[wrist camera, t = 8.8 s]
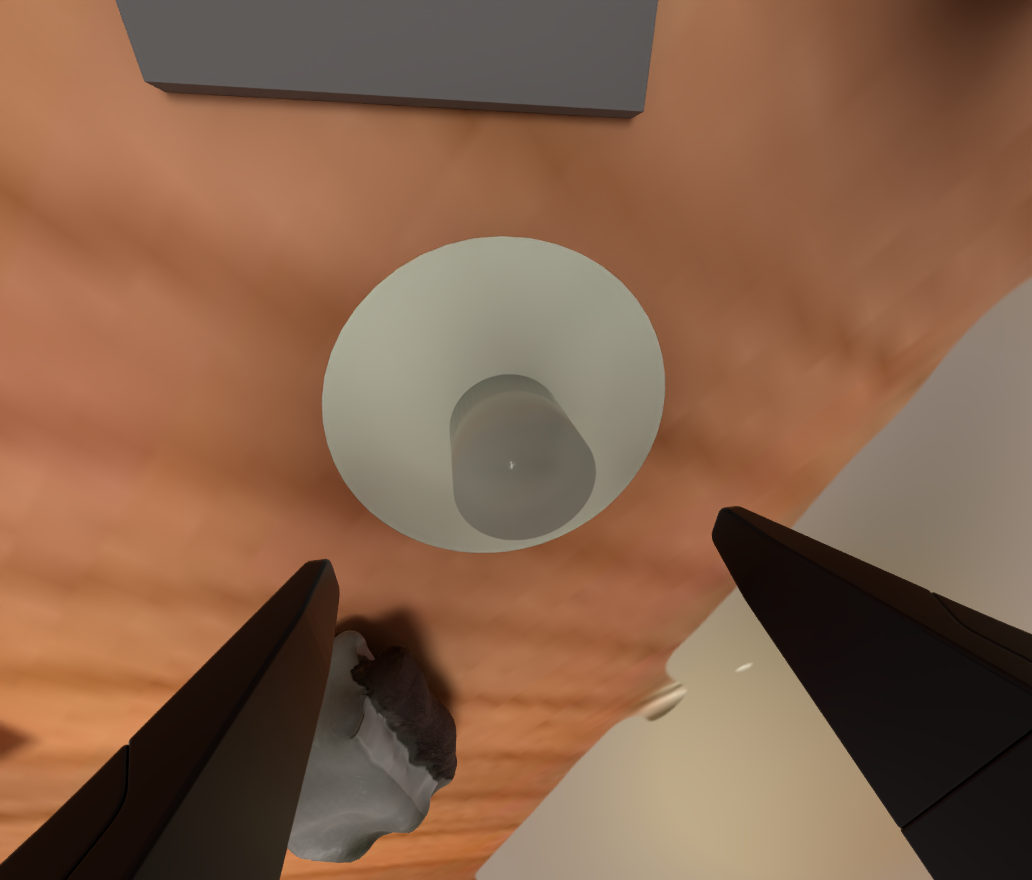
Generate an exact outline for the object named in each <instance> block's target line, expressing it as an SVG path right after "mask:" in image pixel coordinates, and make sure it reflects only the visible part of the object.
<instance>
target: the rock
mask: <svg viewBox="0 0 1032 880" xmlns="http://www.w3.org/2000/svg"><path fill="white" fill-rule="evenodd" d="M455 753H456V727H455V723H454V720H453V718H452V716H451V714H450V713H449V711H448V710H447V709H446V708H445V707H444V706H443V705H442V704H441V703H440V702H439V701H438V700H437V698H436V697H435V696H434V695H433V694H432V692H431V691H430V690H429V688H428V686H427V680H426V677H425V675H424V673H423V671H422V670H421V668H420V666H419V665H418V663H417V662H416V660H415V659H414V658H413V657H412V655H411V653H410V652H409V651H408V650H407V649H406V648H404V647H402V646H394V647H391V648H389V649H388V650H386V651H385V652H384V653H383V654H382V655H380V656H379V657H378V658H377V659H375V658H374V656H373V655H372V653H371V652H370V651H369V649H368V647H367V644H366V641H365V639H364V638H363V636H362V635H361V634H360V633H358V632H356V631H351V630H349V631H344V632H342V633H340V634H339V635H338V636H336V637H335V638H334V642H333V650H332V658H331V665H330V672H329V676H328V681H327V686H326V690H325V694H324V698H323V702H322V706H321V710H320V715H319V719H318V723H317V727H316V731H315V735H314V739H313V743H312V748H311V752H310V756H309V760H308V764H307V768H306V772H305V777H304V781H303V785H302V789H301V793H300V797H299V801H298V805H297V810H296V814H295V818H294V822H293V826H292V830H291V834H290V838H289V843H288V847H287V848H288V849H289V850H290V851H291V852H292V853H293V854H294V855H296V856H297V857H299V858H302V859H308V860H312V861H323V862H336V863H342V862H353V861H355V860H358V859H360V858H361V857H362V856H363V855H364V854H365V853H366V852H367V851H368V850H369V849H370V847H371V846H372V845H373V843H374V842H375V841H376V840H377V839H378V838H379V837H381V836H383V835H386V834H389V833H392V832H398V833H410V832H412V831H414V830H415V829H416V828H417V827H418V826H419V825H420V824H421V822H422V821H423V820H424V818H425V817H426V815H427V813H428V811H429V806H430V798H431V797H432V796H433V794H434V793H435V792H436V791H438V790H439V789H440V788H442V787H444V786H446V785H447V784H449V783H450V782H451V781H452V779H453V778H454V775H455V770H456V766H457V758H456V754H455Z"/></svg>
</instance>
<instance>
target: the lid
mask: <svg viewBox="0 0 1032 880" xmlns="http://www.w3.org/2000/svg"><path fill="white" fill-rule="evenodd" d="M664 398H665V372H664V364H663V357H662V353H661V349H660V346H659V342H658V339H657V336H656V333H655V331H654V329H653V327H652V324H651V322H650V320H649V318H648V316H647V314H646V313H645V311H644V310H643V308H642V307H641V305H640V304H639V302H638V300H637V299H636V298H635V297H634V295H633V294H632V293H631V292H630V291H629V290H628V289H627V288H626V286H625V285H624V284H623V283H622V282H621V281H620V280H619V279H617V278H616V277H615V276H614V275H613V274H611V273H610V272H609V271H608V270H606V269H605V268H604V267H603V266H601V265H600V264H598V263H596V262H594V261H593V260H591V259H589V258H588V257H586V256H584V255H582V254H581V253H578V252H575V251H573V250H570V249H568V248H565V247H563V246H560V245H558V244H554V243H549V242H545V241H540V240H536V239H532V238H521V237H507V236H491V237H478V238H470V239H466V240H462V241H457V242H453V243H449V244H445V245H443V246H440V247H438V248H435V249H433V250H430V251H428V252H425V253H423V254H421V255H419V256H417V257H416V258H414V259H412V260H411V261H409V262H407V263H405V264H404V265H402V266H400V267H399V268H398V269H396V270H395V271H394V272H393V273H391V274H390V275H389V276H388V277H386V278H385V279H384V280H383V281H381V282H380V283H379V284H378V285H377V286H376V287H375V288H374V289H373V290H372V291H371V292H370V293H369V294H368V295H367V297H366V298H365V299H364V300H363V301H362V302H361V303H360V304H359V305H358V306H357V308H356V309H355V310H354V312H353V313H352V315H351V317H350V318H349V320H348V321H347V323H346V324H345V326H344V327H343V329H342V330H341V332H340V335H339V337H338V339H337V341H336V343H335V346H334V348H333V350H332V352H331V355H330V359H329V362H328V366H327V369H326V373H325V377H324V386H323V394H322V414H323V425H324V430H325V435H326V440H327V445H328V447H329V450H330V453H331V455H332V458H333V461H334V464H335V465H336V467H337V469H338V471H339V473H340V475H341V476H342V478H343V480H344V482H345V483H346V485H347V486H348V487H349V489H350V490H351V491H352V493H353V494H354V495H355V497H356V498H357V499H358V500H359V501H360V502H361V503H362V504H363V505H364V506H365V507H366V508H367V509H368V510H369V511H370V512H371V513H372V514H374V515H375V516H376V517H377V518H379V519H380V520H381V521H382V522H384V523H385V524H387V525H388V526H390V527H392V528H393V529H395V530H397V531H398V532H400V533H402V534H404V535H406V536H408V537H410V538H413V539H415V540H417V541H419V542H422V543H425V544H429V545H432V546H435V547H439V548H443V549H448V550H453V551H461V552H470V553H495V552H506V551H513V550H518V549H523V548H528V547H531V546H535V545H538V544H542V543H545V542H547V541H550V540H552V539H555V538H558V537H560V536H562V535H564V534H566V533H568V532H570V531H572V530H574V529H576V528H578V527H579V526H581V525H582V524H584V523H586V522H587V521H589V520H590V519H592V518H593V517H594V516H596V515H597V514H598V513H600V512H601V511H602V510H604V509H605V508H606V507H607V506H608V505H609V504H610V503H611V502H612V501H614V500H615V499H616V498H617V497H618V496H619V495H620V494H621V492H622V491H623V490H624V489H625V488H626V487H627V486H628V484H629V483H630V482H631V481H632V479H633V478H634V476H635V475H636V474H637V472H638V471H639V469H640V468H641V466H642V464H643V463H644V461H645V459H646V457H647V455H648V453H649V452H650V450H651V447H652V445H653V442H654V440H655V437H656V435H657V432H658V428H659V425H660V421H661V417H662V413H663V406H664Z"/></svg>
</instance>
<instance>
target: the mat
mask: <svg viewBox="0 0 1032 880" xmlns="http://www.w3.org/2000/svg"><path fill="white" fill-rule="evenodd" d="M116 3H117V6H118V8H119V11H120V14H121V17H122V20H123V22H124V25H125V28H126V31H127V34H128V37H129V39H130V42H131V45H132V48H133V51H134V53H135V56H136V59H137V62H138V65H139V68H140V70H141V73H142V76H143V79H144V81H145V82H147V83H149V84H151V85H153V86H155V87H157V88H159V89H161V90H162V91H164V92H177V93H194V94H212V95H230V96H247V97H265V98H282V99H300V100H318V101H335V102H353V103H370V104H388V105H406V106H423V107H441V108H459V109H476V110H494V111H511V112H529V113H547V114H564V115H582V116H599V117H617V118H633V117H635V116H636V115H638V114H640V113H642V112H643V111H644V104H645V96H646V89H647V81H648V73H649V66H650V58H651V50H652V43H653V35H654V27H655V20H656V12H657V4H658V0H116Z"/></svg>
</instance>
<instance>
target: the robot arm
mask: <svg viewBox="0 0 1032 880" xmlns="http://www.w3.org/2000/svg"><path fill="white" fill-rule="evenodd" d="M712 540H713V543H714V545H715V546H716V548H717V550H718V552H719V554H720V556H721V557H722V559H723V561H724V563H725V565H726V566H727V568H728V570H729V572H730V574H731V576H732V577H733V579H734V581H735V583H736V585H737V586H738V588H739V590H740V592H741V593H742V595H743V597H744V598H745V600H746V602H747V603H748V605H749V606H750V608H751V610H752V611H753V612H754V614H755V615H756V617H757V618H758V620H759V621H760V623H761V624H762V626H763V627H764V629H765V630H766V632H767V633H768V635H769V636H770V638H771V639H772V641H773V642H774V643H775V645H776V647H777V648H778V649H779V651H780V652H781V654H782V655H783V657H784V658H785V660H786V661H787V663H788V664H789V666H790V667H791V669H792V670H793V671H794V673H795V675H796V676H797V678H798V679H799V681H800V682H801V683H802V685H803V686H804V688H805V689H806V691H807V692H808V694H809V695H810V697H811V698H812V700H813V701H814V703H815V704H816V706H817V707H818V709H819V710H820V712H821V713H822V714H823V716H824V717H825V719H826V720H827V722H828V723H829V725H830V726H831V728H832V729H833V730H834V732H835V734H836V735H837V737H838V738H839V739H840V741H841V743H842V744H843V746H844V747H845V748H846V750H847V752H848V753H849V754H850V756H851V757H852V759H853V760H854V762H855V763H856V765H857V766H858V768H859V769H860V771H861V772H862V774H863V775H864V777H865V778H866V780H867V781H868V783H869V784H870V786H871V787H872V788H873V790H874V791H875V793H876V794H877V796H878V797H879V799H880V800H881V802H882V803H883V805H884V806H885V808H886V809H887V811H888V812H889V814H890V815H891V817H892V818H893V820H894V821H895V823H896V824H897V825H898V827H900V828H901V832H902V833H903V835H904V836H905V838H906V839H907V841H908V842H909V844H910V845H911V847H912V848H913V850H914V851H915V853H916V854H917V855H918V857H919V859H920V860H921V862H922V863H923V864H924V866H925V867H926V869H927V870H928V872H929V873H930V875H931V876H932V878H933V879H934V880H1032V634H1030V633H1028V632H1025V631H1023V630H1021V629H1018V628H1016V627H1013V626H1010V625H1008V624H1006V623H1003V622H1001V621H998V620H996V619H994V618H992V617H989V616H987V615H985V614H982V613H980V612H978V611H975V610H973V609H971V608H968V607H966V606H963V605H961V604H959V603H957V602H955V601H952V600H950V599H948V598H946V597H943V596H941V595H938V594H936V593H933V592H932V593H931V592H930V591H929V590H927V589H925V588H923V587H921V586H918V585H916V584H914V583H912V582H909V581H907V580H905V579H902V578H900V577H898V576H895V575H894V574H891V573H889V572H887V571H884V570H882V569H880V568H878V567H875V566H873V565H871V564H869V563H866V562H864V561H862V560H860V559H857V558H855V557H853V556H851V555H848V554H846V553H844V552H842V551H839V550H837V549H835V548H832V547H830V546H828V545H826V544H823V543H821V542H819V541H817V540H814V539H812V538H810V537H808V536H805V535H803V534H801V533H799V532H796V531H794V530H792V529H790V528H787V527H785V526H783V525H781V524H778V523H776V522H774V521H772V520H769V519H767V518H765V517H763V516H760V515H758V514H756V513H754V512H751V511H749V510H747V509H745V508H742V507H739V506H732V507H725V508H722V509H721V510H720V511H719V513H718V516H717V519H716V522H715V525H714V528H713V531H712ZM338 604H339V585H338V582H337V579H336V576H335V573H334V570H333V566H332V564H331V562H330V561H329V560H328V559H321V560H313V561H309V562H307V563H305V564H304V565H303V566H302V567H301V568H300V569H299V570H298V571H297V572H296V573H295V574H294V575H293V576H292V577H291V578H290V579H289V580H288V581H287V582H286V583H285V584H284V585H283V586H282V587H281V588H280V589H279V590H278V591H277V592H276V593H275V594H274V595H273V596H272V597H271V598H270V599H269V600H268V601H267V602H266V603H265V604H264V605H263V606H262V607H261V608H260V609H259V610H258V611H257V612H256V613H255V614H254V615H253V616H252V617H251V618H250V619H249V620H248V621H247V622H246V623H245V624H244V625H243V626H242V627H241V628H240V629H239V630H238V631H237V632H236V633H235V634H234V635H233V636H232V637H231V638H230V639H229V640H228V641H227V642H226V643H225V644H224V645H223V646H222V647H221V648H220V649H219V650H218V651H217V652H216V653H215V654H214V655H213V656H212V657H211V658H210V659H209V660H208V661H207V662H206V663H205V664H204V665H203V666H202V667H201V668H200V669H199V670H198V671H197V672H196V673H195V674H194V675H193V676H192V677H191V678H190V679H189V680H188V681H187V682H186V683H185V684H184V685H183V686H182V687H181V688H180V689H179V690H178V691H177V692H176V693H175V694H174V695H173V696H172V697H171V698H170V699H169V700H168V701H167V702H166V703H165V704H164V705H163V706H162V707H161V708H160V709H159V710H158V711H157V712H156V713H155V714H154V715H153V716H152V717H151V718H150V719H149V720H148V721H147V722H146V723H145V725H144V726H143V727H142V728H141V729H140V730H139V731H138V732H137V733H136V734H135V735H134V736H133V737H132V738H131V739H130V740H129V745H124V746H122V747H121V748H120V749H119V750H118V751H117V752H116V753H115V754H114V755H113V756H112V757H111V758H110V759H109V760H108V761H107V762H106V763H105V764H104V765H103V766H102V767H101V768H100V769H99V770H98V771H97V772H96V773H95V774H94V775H93V776H92V777H91V778H90V779H89V780H88V781H87V782H86V783H85V784H84V785H83V786H82V787H81V788H80V789H79V790H78V791H77V792H76V793H75V794H74V795H73V796H72V797H71V798H70V799H69V800H68V801H67V802H66V803H65V804H64V805H63V806H62V807H61V808H60V809H59V810H58V811H57V812H56V813H54V814H53V815H52V816H51V817H50V818H49V819H48V820H47V821H46V822H45V823H44V824H43V825H42V826H41V827H40V828H39V829H38V830H37V831H36V832H35V833H33V834H32V835H31V836H30V837H29V838H28V839H27V840H26V841H25V842H24V843H23V844H22V845H21V846H19V847H18V848H17V849H16V850H15V851H14V852H13V853H12V854H11V855H10V856H9V857H8V858H7V859H6V860H4V861H3V862H2V863H1V864H0V880H280V876H281V872H282V867H283V863H284V859H285V855H286V851H287V847H288V843H289V838H290V834H291V830H292V826H293V822H294V818H295V814H296V810H297V805H298V801H299V797H300V793H301V789H302V785H303V781H304V777H305V772H306V768H307V764H308V760H309V756H310V752H311V748H312V743H313V739H314V735H315V731H316V727H317V723H318V719H319V715H320V710H321V706H322V702H323V698H324V694H325V690H326V686H327V681H328V676H329V672H330V665H331V658H332V650H333V642H334V635H335V627H336V619H337V611H338Z"/></svg>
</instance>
